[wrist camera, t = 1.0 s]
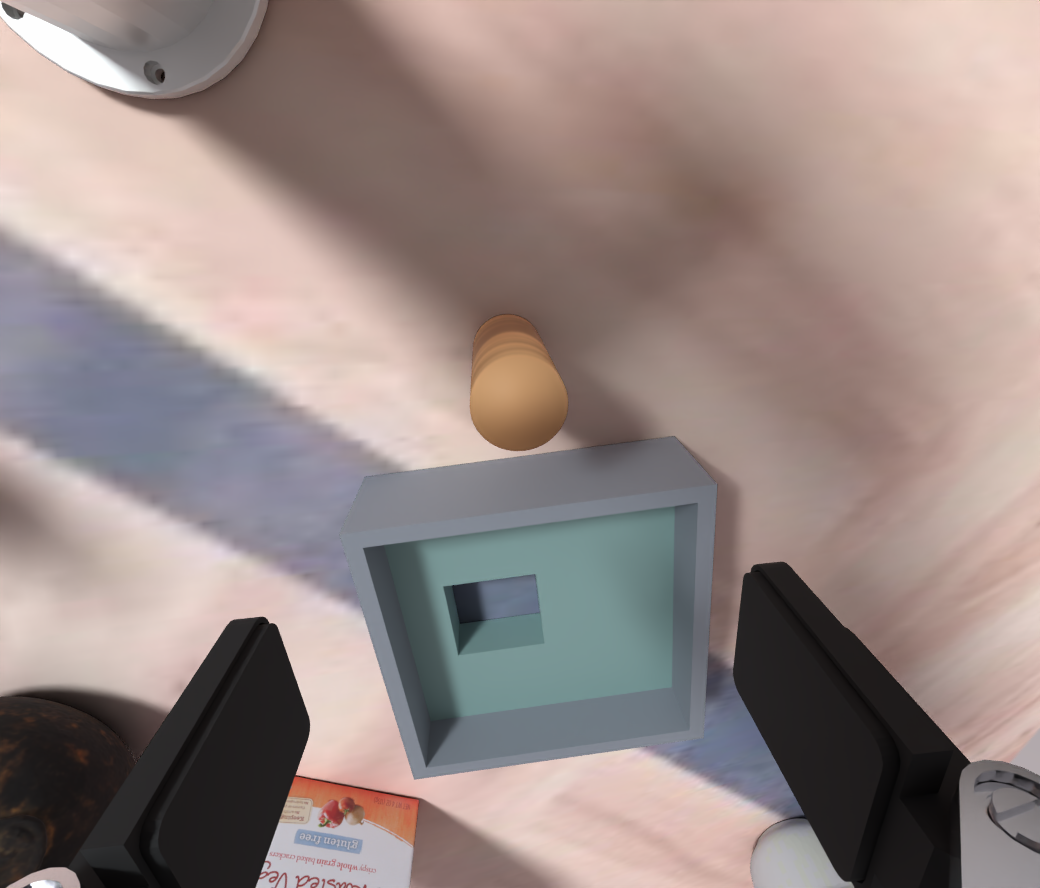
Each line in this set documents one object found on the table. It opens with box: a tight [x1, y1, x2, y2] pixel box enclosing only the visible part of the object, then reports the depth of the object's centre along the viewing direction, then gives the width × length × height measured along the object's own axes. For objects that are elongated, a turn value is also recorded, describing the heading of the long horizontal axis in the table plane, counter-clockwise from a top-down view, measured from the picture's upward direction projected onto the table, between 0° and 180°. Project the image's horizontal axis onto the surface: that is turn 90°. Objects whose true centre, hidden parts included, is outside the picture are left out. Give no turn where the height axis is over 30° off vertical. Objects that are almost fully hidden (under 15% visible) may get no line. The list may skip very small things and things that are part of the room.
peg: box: [470, 314, 568, 451], centre depth 25 cm, size 4×4×10 cm
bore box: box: [339, 436, 717, 780], centre depth 34 cm, size 20×20×6 cm
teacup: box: [750, 818, 854, 888], centre depth 49 cm, size 14×11×8 cm
